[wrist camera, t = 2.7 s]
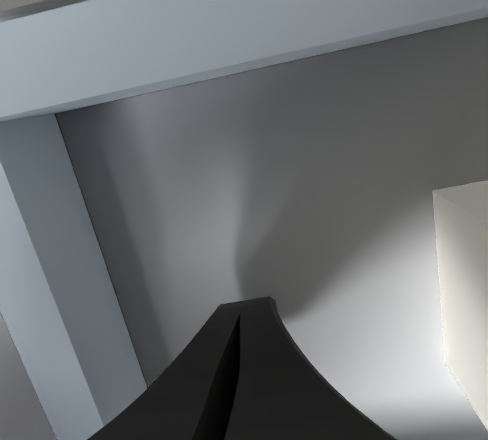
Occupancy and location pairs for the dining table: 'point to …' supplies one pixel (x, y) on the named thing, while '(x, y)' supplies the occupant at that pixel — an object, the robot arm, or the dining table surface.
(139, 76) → the pale blue square frame
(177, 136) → the dining table surface
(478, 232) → the cube
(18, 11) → the crook tool
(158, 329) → the dining table surface
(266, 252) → the dining table surface
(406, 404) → the dining table surface
